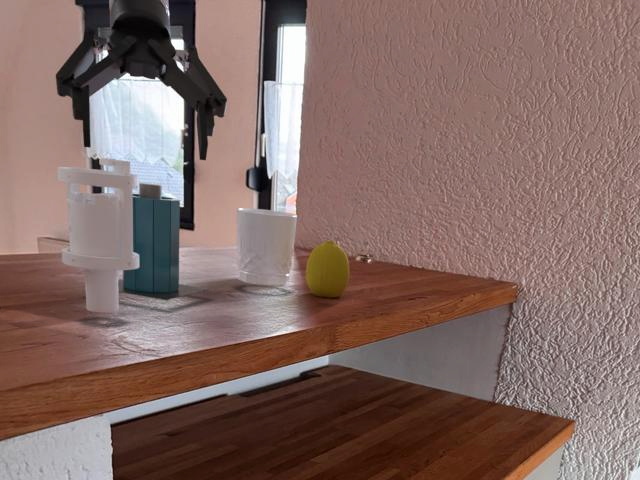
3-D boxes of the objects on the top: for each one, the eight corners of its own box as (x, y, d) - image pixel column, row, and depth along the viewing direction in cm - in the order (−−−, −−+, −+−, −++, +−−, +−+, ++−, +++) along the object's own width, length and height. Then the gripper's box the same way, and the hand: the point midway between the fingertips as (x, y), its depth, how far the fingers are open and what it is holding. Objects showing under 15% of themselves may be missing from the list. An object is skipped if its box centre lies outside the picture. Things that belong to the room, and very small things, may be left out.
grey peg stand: (87, 296, 83) (83, 178, 78) (136, 286, 91) (135, 179, 86) (167, 310, 80) (167, 189, 75) (209, 298, 89) (212, 189, 84)
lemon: (295, 300, 95) (300, 236, 92) (328, 299, 98) (334, 237, 95) (320, 309, 91) (326, 242, 88) (354, 307, 95) (361, 243, 92)
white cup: (283, 297, 96) (289, 217, 92) (225, 289, 96) (228, 209, 92) (297, 289, 103) (303, 214, 99) (243, 281, 104) (247, 207, 100)
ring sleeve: (111, 286, 83) (109, 193, 79) (142, 280, 89) (141, 193, 85) (160, 295, 82) (160, 200, 78) (188, 288, 88) (189, 199, 84)
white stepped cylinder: (154, 322, 74) (154, 163, 69) (103, 332, 69) (99, 159, 63) (102, 310, 77) (97, 156, 71) (48, 318, 71) (39, 151, 65)
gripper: (232, 57, 102) (244, 178, 96) (39, 27, 95) (37, 156, 88) (239, 8, 96) (254, 134, 89) (32, -29, 88) (30, 106, 81)
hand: (146, 145), depth 88 cm, fingers open, 13 cm apart
